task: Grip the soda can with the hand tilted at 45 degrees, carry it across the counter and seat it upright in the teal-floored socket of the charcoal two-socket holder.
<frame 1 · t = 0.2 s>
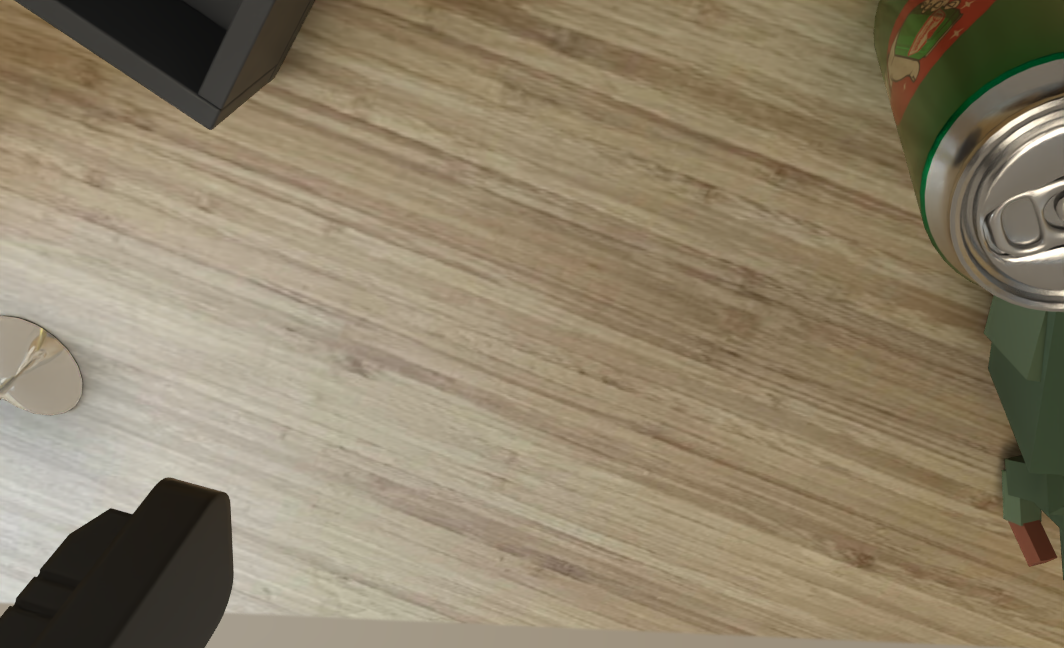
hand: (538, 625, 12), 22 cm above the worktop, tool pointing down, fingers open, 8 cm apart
wineglass: (28, 364, 42), on the worktop
soda can: (967, 13, 28), on the worktop
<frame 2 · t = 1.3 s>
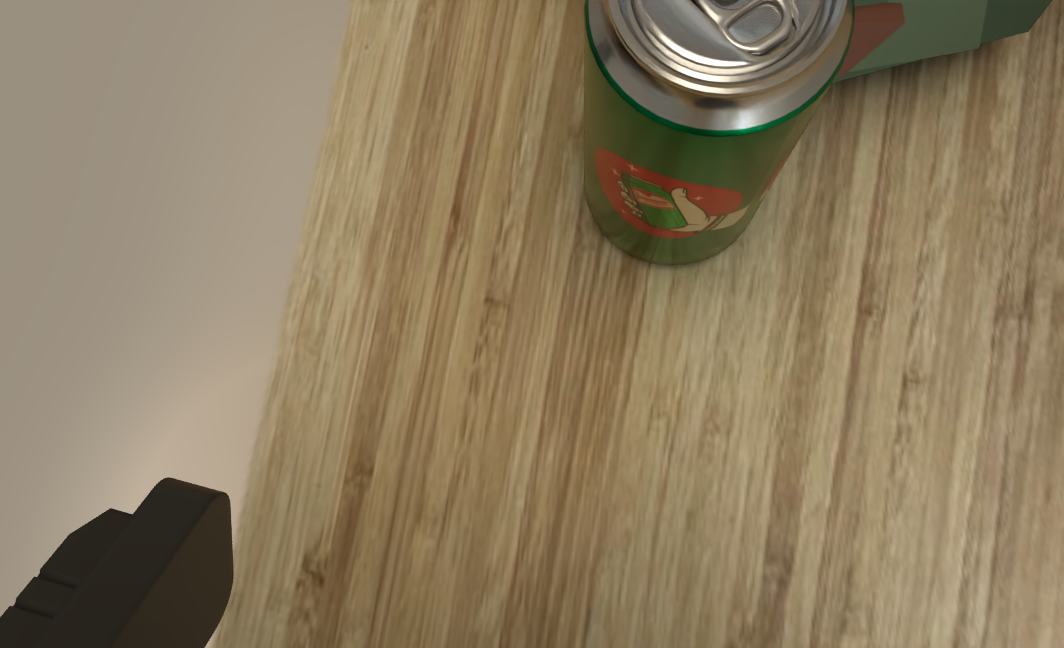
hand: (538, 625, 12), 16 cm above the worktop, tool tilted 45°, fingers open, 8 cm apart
soda can: (669, 188, 30), on the worktop
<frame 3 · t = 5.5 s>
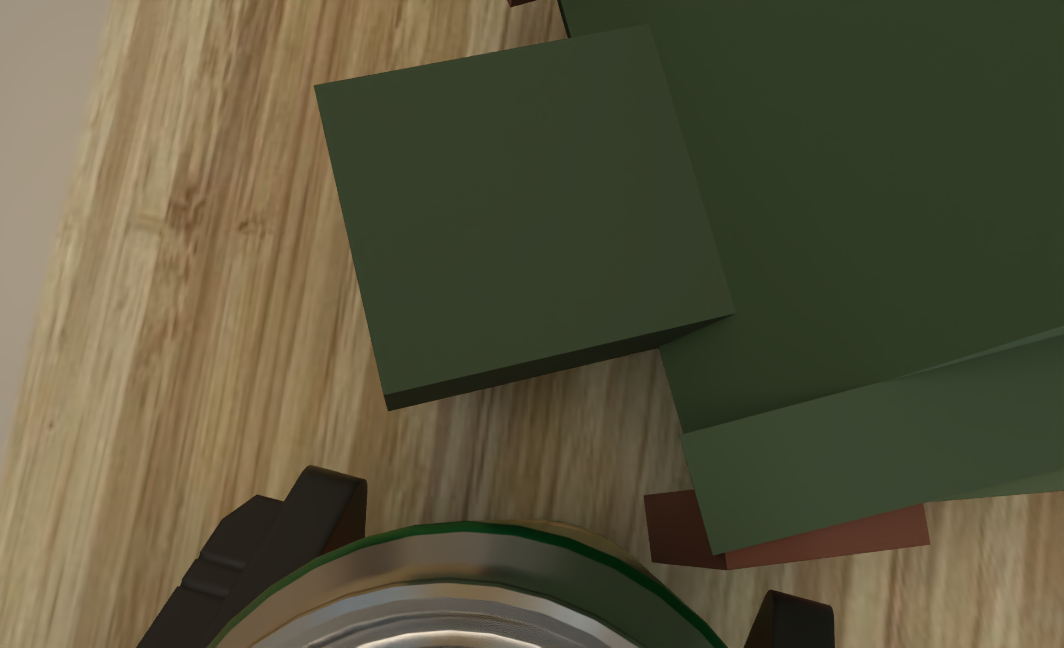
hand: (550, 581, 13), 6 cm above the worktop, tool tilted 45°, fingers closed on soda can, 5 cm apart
green angular faceted piece: (905, 233, 19), on the worktop
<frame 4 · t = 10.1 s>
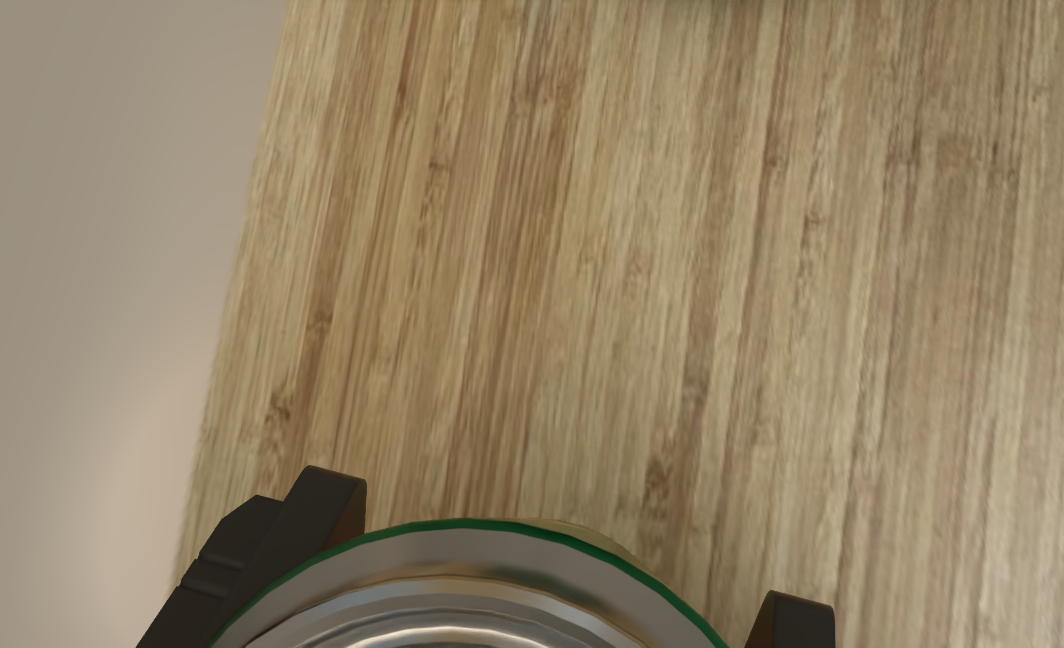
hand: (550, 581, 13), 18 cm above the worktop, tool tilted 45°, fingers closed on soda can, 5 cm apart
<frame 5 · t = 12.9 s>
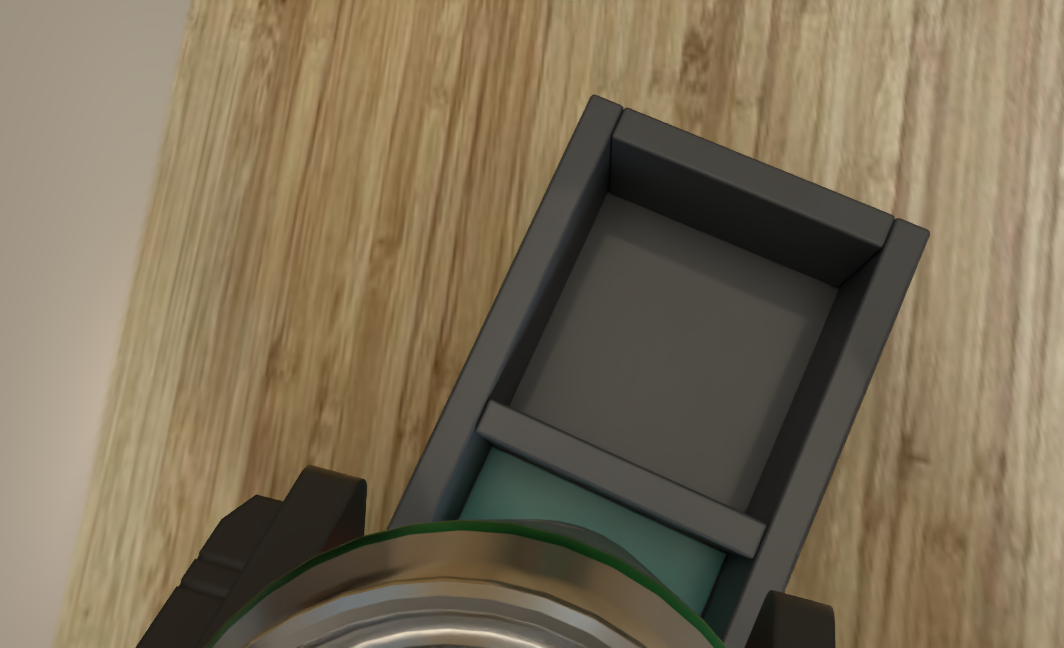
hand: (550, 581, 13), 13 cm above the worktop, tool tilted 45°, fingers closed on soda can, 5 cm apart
holder: (614, 483, 26), on the worktop
when the fingers open (6 cm above the worktop, at t = 15.1 s): soda can stays where it is, resting on holder.
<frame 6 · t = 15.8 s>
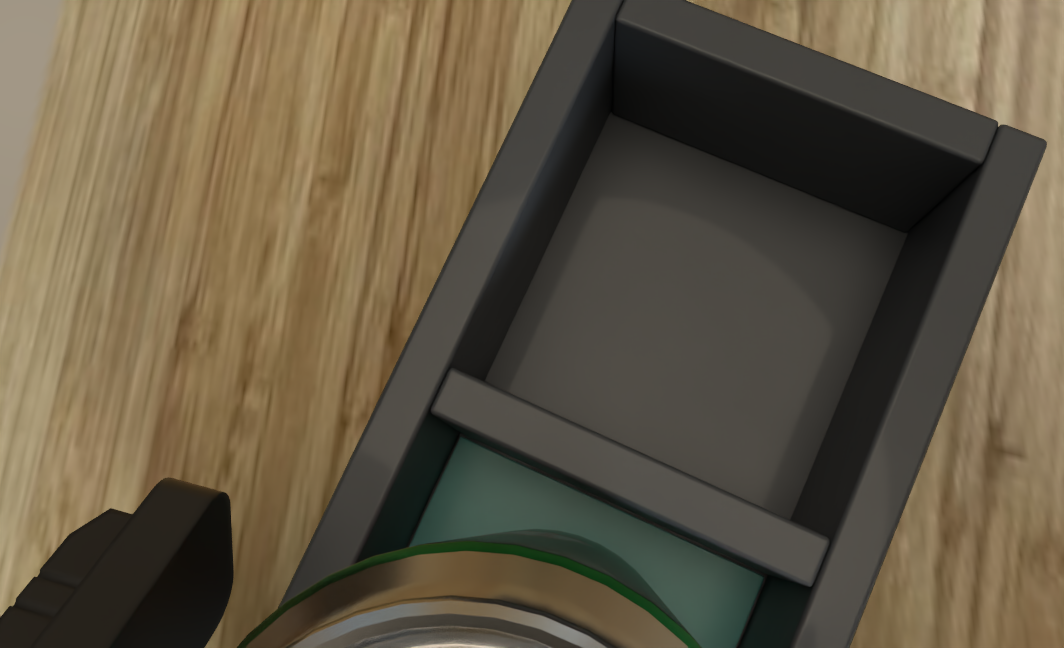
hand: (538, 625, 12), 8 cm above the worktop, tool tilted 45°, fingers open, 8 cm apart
holder: (618, 484, 20), on the worktop
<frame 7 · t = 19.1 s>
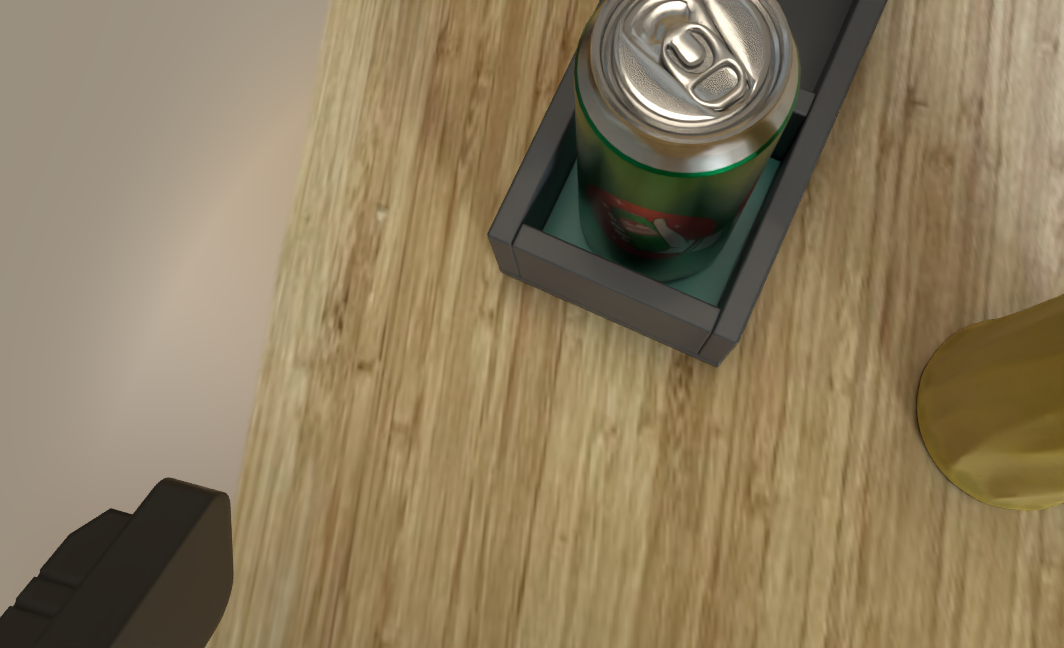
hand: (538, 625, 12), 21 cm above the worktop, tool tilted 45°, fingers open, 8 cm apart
vase: (1009, 414, 33), on the worktop
soda can: (655, 213, 34), point 1 cm above the worktop, touching holder
holder: (696, 123, 35), on the worktop
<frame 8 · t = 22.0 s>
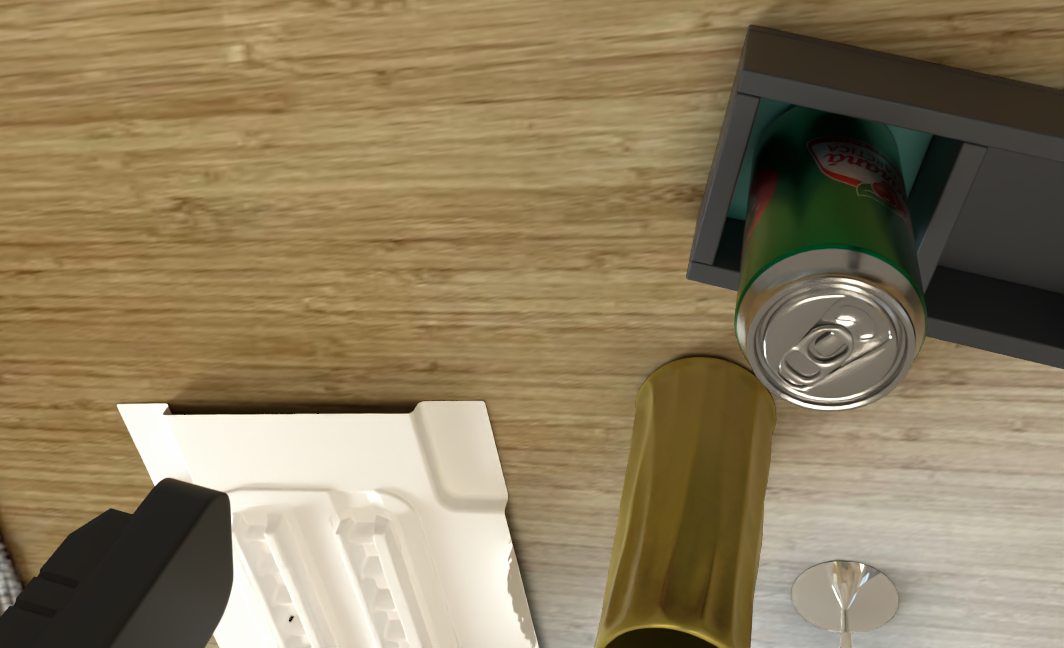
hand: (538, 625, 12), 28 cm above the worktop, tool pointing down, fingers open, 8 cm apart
vase: (705, 408, 45), on the worktop
wineglass: (844, 595, 49), on the worktop
soda can: (824, 158, 37), point 1 cm above the worktop, touching holder
holder: (925, 173, 37), on the worktop
tray: (364, 597, 57), on the worktop
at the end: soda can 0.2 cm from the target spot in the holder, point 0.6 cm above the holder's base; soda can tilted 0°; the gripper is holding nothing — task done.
